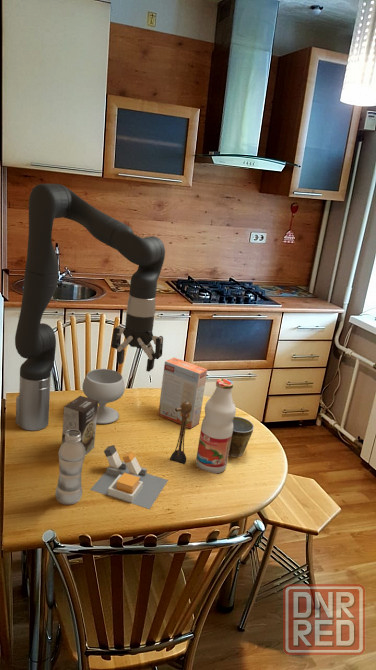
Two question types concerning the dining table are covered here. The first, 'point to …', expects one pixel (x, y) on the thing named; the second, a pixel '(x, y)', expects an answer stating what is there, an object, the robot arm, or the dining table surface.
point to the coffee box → (81, 420)
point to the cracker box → (182, 390)
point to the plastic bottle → (70, 468)
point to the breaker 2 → (132, 463)
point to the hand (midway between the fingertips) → (134, 366)
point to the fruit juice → (216, 429)
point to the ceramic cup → (240, 436)
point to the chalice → (104, 392)
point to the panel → (140, 496)
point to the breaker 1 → (113, 457)
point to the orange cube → (127, 483)
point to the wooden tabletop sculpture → (181, 434)
